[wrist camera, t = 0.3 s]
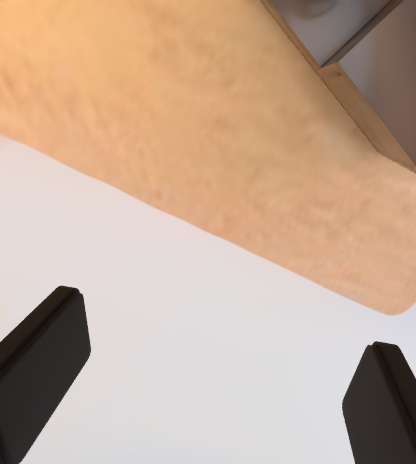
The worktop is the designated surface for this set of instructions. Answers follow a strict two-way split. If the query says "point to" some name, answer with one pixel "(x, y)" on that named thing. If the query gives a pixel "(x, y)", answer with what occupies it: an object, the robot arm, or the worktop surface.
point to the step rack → (362, 63)
